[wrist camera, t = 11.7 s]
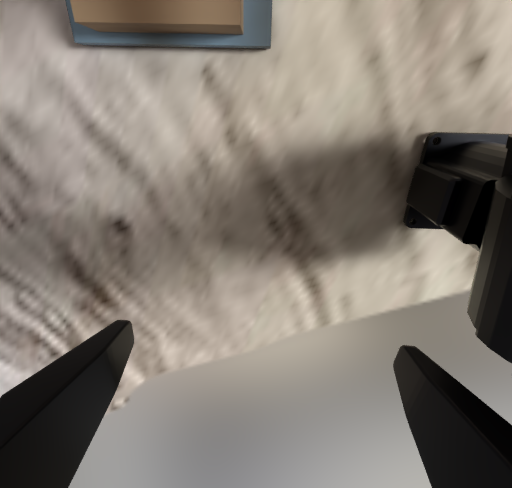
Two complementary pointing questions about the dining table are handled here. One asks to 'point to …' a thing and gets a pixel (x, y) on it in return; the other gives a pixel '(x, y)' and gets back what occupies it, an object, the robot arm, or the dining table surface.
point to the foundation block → (172, 23)
